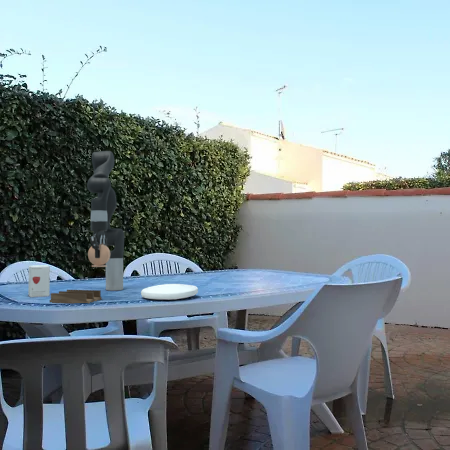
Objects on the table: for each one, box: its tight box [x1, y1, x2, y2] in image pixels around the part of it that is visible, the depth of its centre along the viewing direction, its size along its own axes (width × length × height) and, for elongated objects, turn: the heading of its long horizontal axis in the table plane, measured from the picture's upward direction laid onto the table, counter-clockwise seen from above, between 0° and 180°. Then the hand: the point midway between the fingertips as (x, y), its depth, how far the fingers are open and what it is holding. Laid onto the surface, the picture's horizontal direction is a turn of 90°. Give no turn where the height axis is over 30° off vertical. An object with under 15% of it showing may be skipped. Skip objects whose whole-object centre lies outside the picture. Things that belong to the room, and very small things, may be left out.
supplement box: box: [27, 264, 51, 298], centre depth 239 cm, size 9×9×15 cm
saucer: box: [87, 244, 111, 268], centre depth 224 cm, size 3×10×11 cm, turn 78°
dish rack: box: [49, 289, 103, 304], centre depth 220 cm, size 14×18×4 cm
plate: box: [140, 283, 199, 301], centre depth 231 cm, size 28×6×27 cm
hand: (98, 257), depth 224 cm, fingers closed on saucer, 2 cm apart
